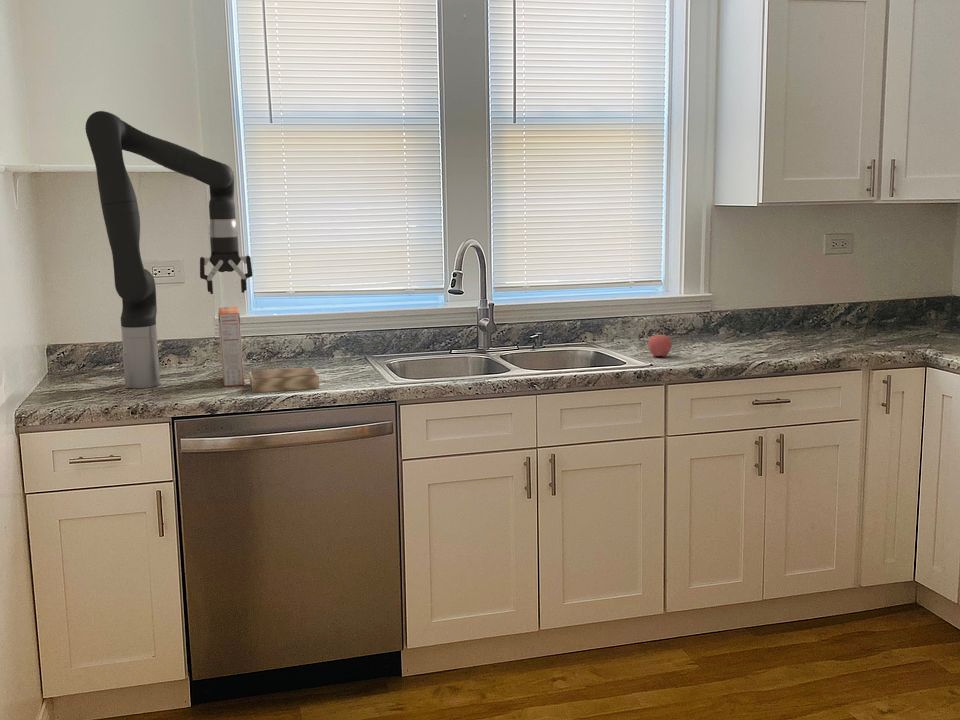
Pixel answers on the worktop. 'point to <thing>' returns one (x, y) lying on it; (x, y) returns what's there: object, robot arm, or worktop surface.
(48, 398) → the worktop surface
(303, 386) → the podium
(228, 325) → the cracker box
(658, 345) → the apple
